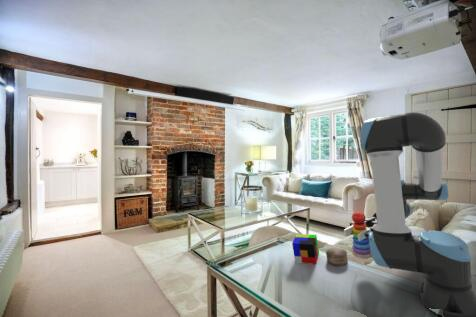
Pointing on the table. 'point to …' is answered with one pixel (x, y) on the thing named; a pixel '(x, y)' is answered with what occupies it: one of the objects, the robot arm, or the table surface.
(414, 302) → the table surface
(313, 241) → the puzzle toy
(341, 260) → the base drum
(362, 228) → the stacking toy
